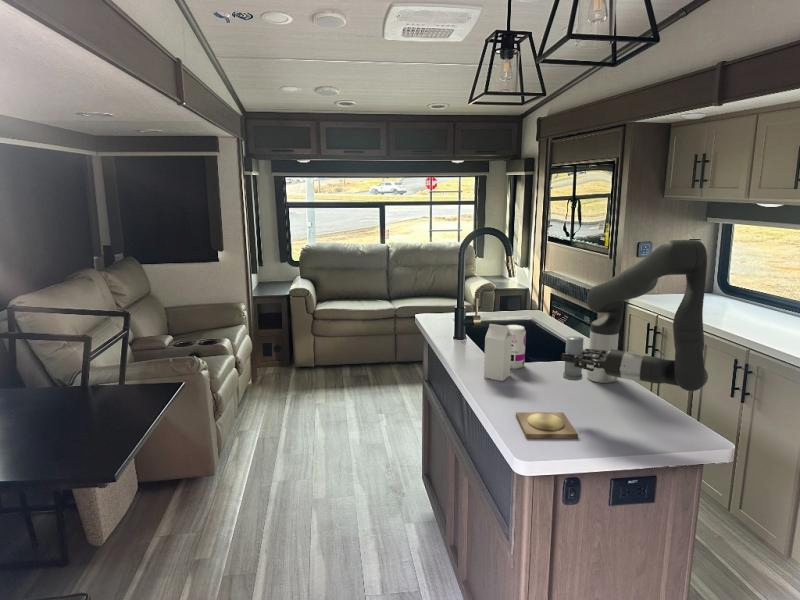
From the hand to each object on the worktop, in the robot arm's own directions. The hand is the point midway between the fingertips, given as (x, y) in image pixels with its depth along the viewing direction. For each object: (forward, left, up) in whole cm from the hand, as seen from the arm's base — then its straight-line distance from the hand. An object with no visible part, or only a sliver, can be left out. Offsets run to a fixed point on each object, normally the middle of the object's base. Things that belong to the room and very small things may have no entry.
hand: (565, 354), depth 161 cm
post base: (+8, +11, -18) cm, 22 cm away
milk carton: (+15, -29, -18) cm, 37 cm away
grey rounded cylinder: (-2, +2, -7) cm, 7 cm away
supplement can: (+7, -41, -18) cm, 45 cm away
